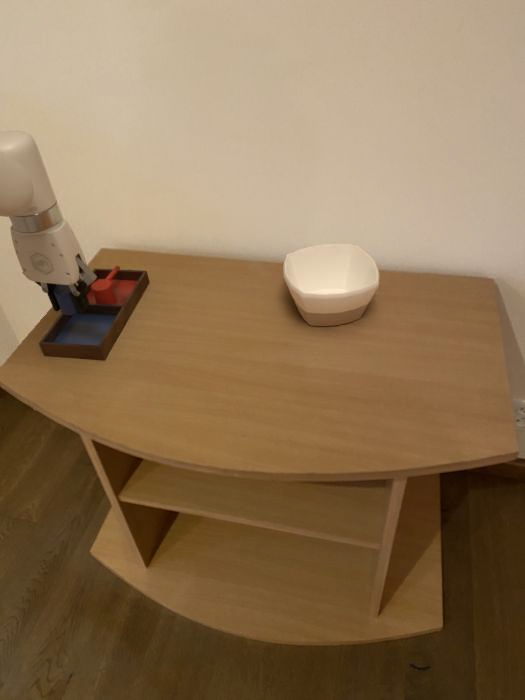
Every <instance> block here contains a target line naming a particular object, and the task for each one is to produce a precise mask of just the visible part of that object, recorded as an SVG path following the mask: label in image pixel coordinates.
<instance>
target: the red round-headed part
mask: <svg viewBox="0 0 525 700" xmlns="http://www.w3.org/2000/svg"><path fill="white" fill-rule="evenodd" d="M112 269H113V270H112V271H111V273H110V274H109V275H108V276H107V277H106V278H105V279H102V280H98V281H96V282H94V283H93V284H92V286H91V288H92V291H93V294H94V297H95V300H96V302H97V303H99V304H116V302H117V299H116V296H115V293H114V290H113V287H112V283H111V281H110V280H111V279H112V278H113V277H114V276H115V274H116V273H117V272H118V271H119V270H121V267H120V265H115V267H113V268H112Z"/></svg>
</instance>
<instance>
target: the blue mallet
mask: <svg viewBox="0 0 525 700" xmlns="http://www.w3.org/2000/svg"><path fill="white" fill-rule="evenodd" d="M81 276H82V275H81ZM82 277H83V276H82ZM53 292H54V295H55V297H56V299H57V302H58V304H59V307H60V312H61V313H63V314H65V315H74V314H77V311H76V308H75V306H74V303H73V301H72V298H71V297H72V295H73V293H72V291H71V290H70V288H69V286H68V285H61V284H59V285H57V286H56V287H55V288H54V290H53Z"/></svg>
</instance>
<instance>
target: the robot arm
mask: <svg viewBox="0 0 525 700" xmlns="http://www.w3.org/2000/svg"><path fill="white" fill-rule="evenodd" d="M0 217H8V218H9V221H10V222H11V226H10V236H11V241H12V244H13V249H14V251H15V255H16V258H17V260H18V264H19V267H20V268H21V270H22V274H23V276H24V277H25V279H27V280H29V281H31V282H34V283H35V284H37V285H38V286H39V287H40V288H41V290H42V292H43V293H45V294H47V297H48V299H49V302H50V305H51V307H52V308H53V311H54V312H59V311H61V309H60V307H59V304H58V302H57V299H56V297H55V295H54V292H53V290H54V288H55V287H56V286H57V285H59V284H61V285H68V286H69V288H70V290H71V291H72V293H73V295H72V297H71V298H72V301H73V303H74V306H75V308H76V311H77V313H78V314H82V313H83V312H84V311H85V310H86V308H87V307H88V306H89V301H88V298H87V295H86V292H85V290H84V289H85V288H86V287H87V286H89V285H90V284H92V283H93V282H94V281H95V280H96V279H97V276H96V275H95V274H94V273H93V272H92V271H93V270H92V269H91V268H89V266H88V264H87V260H86V257H85V254H84V252H83V249H82V247H81V244H80V243H79V240H78V238H77V236H76V235H75V233H74V231H73V229H72V227H71V226H70V223H69V222H68V221H67V219H65V218H64V217H63V214H62V212H61V208H60V206H59V203H58V200H57V197H56V195H55V192H54V188H53V186H52V183H51V180H50V177H49V175H48V172H47V168H46V165H45V163H44V161H43V158H42V155H41V151H40V150H39V147H38V144H37V142H36V140H35V138H34V137H33V136H32V135H31V134H30V133H28V132H26V131H22V130H6V131H2V132H0ZM81 275H82V276H81Z"/></svg>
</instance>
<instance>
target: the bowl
mask: <svg viewBox="0 0 525 700" xmlns="http://www.w3.org/2000/svg"><path fill="white" fill-rule="evenodd" d="M282 273H283V280H284V282H285V284H286V286H287V289H288V290H289V293H290V295H291V297H292V299H293V301H294V304H295V306H296V308H297V311H298V312H299V314H300V315H301V317H302V318H303V320H304V321H306V323H307V325H309V326H312V327H335V326H340V325H345V324H348V323H352V322H355V321H357V320H359V319H361V317H362V315H363V314H364V312H365V311H366V308H367V307H368V305H369V303H370V302H371V300H372V299H373V296H374V295H375V293H376V292H377V289H378V288H379V286H380V275H381V274H380V272H379V269H378V266H377V263H376V261H375V260H374V259H373V258H372V257H371V256H370V254H369V253H367V252H366V251H365V250H363V249H362V248H360V247H359V246H358V245H356V244H349V243H327V244H316V245H312V246H308V247H303V248H300V249H297V250H295V251H292V252H289V253H287V255H286V256H285V259H284V261H283V265H282Z"/></svg>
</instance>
